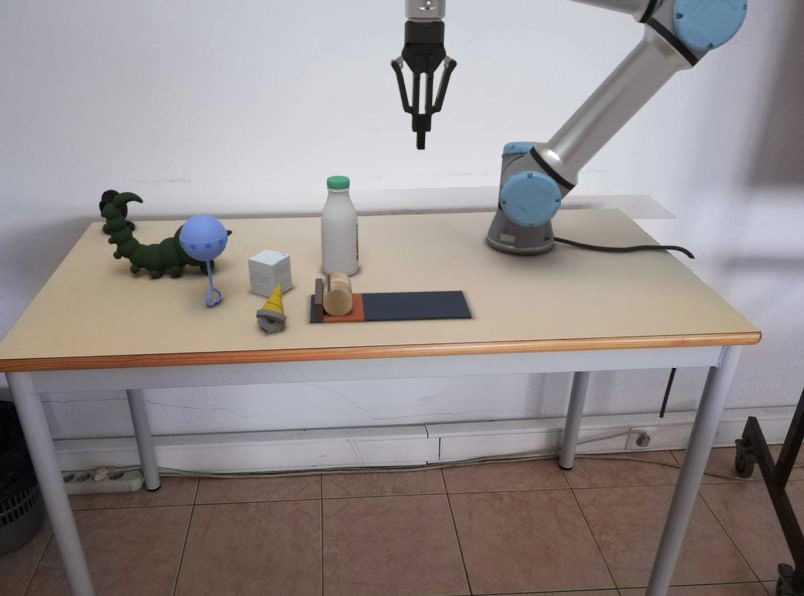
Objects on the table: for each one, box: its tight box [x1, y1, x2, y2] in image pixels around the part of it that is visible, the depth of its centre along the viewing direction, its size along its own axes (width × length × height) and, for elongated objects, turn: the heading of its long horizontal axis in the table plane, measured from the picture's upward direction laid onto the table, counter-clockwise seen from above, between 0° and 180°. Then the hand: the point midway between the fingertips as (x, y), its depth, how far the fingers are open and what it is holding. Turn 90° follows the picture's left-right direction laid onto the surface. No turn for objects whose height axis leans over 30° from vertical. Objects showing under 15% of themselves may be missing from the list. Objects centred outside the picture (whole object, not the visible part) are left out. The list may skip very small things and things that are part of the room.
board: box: [309, 277, 473, 324], centre depth 130 cm, size 30×11×4 cm, turn 93°
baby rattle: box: [179, 214, 229, 308], centre depth 127 cm, size 9×9×18 cm
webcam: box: [98, 189, 136, 236], centre depth 165 cm, size 8×8×10 cm
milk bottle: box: [320, 175, 360, 277], centre depth 141 cm, size 8×8×20 cm
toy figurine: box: [100, 191, 233, 279], centre depth 141 cm, size 9×19×25 cm
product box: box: [247, 249, 293, 298], centre depth 136 cm, size 6×6×7 cm
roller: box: [323, 272, 353, 316], centre depth 129 cm, size 6×8×6 cm
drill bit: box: [255, 283, 287, 335], centre depth 123 cm, size 5×5×10 cm
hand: (420, 148), depth 139 cm, fingers closed
